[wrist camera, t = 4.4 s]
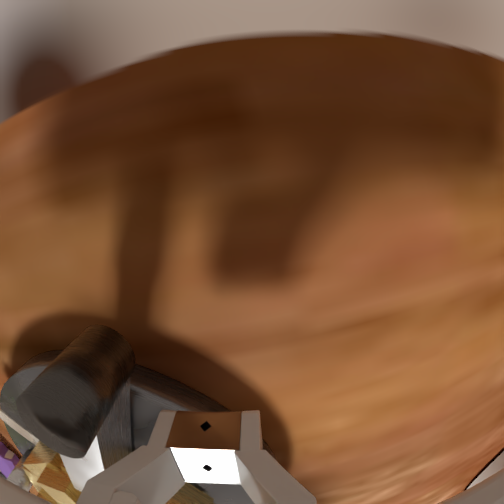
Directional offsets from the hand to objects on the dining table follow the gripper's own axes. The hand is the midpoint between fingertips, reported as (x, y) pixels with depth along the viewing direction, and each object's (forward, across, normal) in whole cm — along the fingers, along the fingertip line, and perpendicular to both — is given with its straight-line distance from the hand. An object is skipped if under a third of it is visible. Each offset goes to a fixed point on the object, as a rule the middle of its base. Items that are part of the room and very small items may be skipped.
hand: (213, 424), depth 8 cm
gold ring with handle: (+1, +6, +5) cm, 8 cm away
